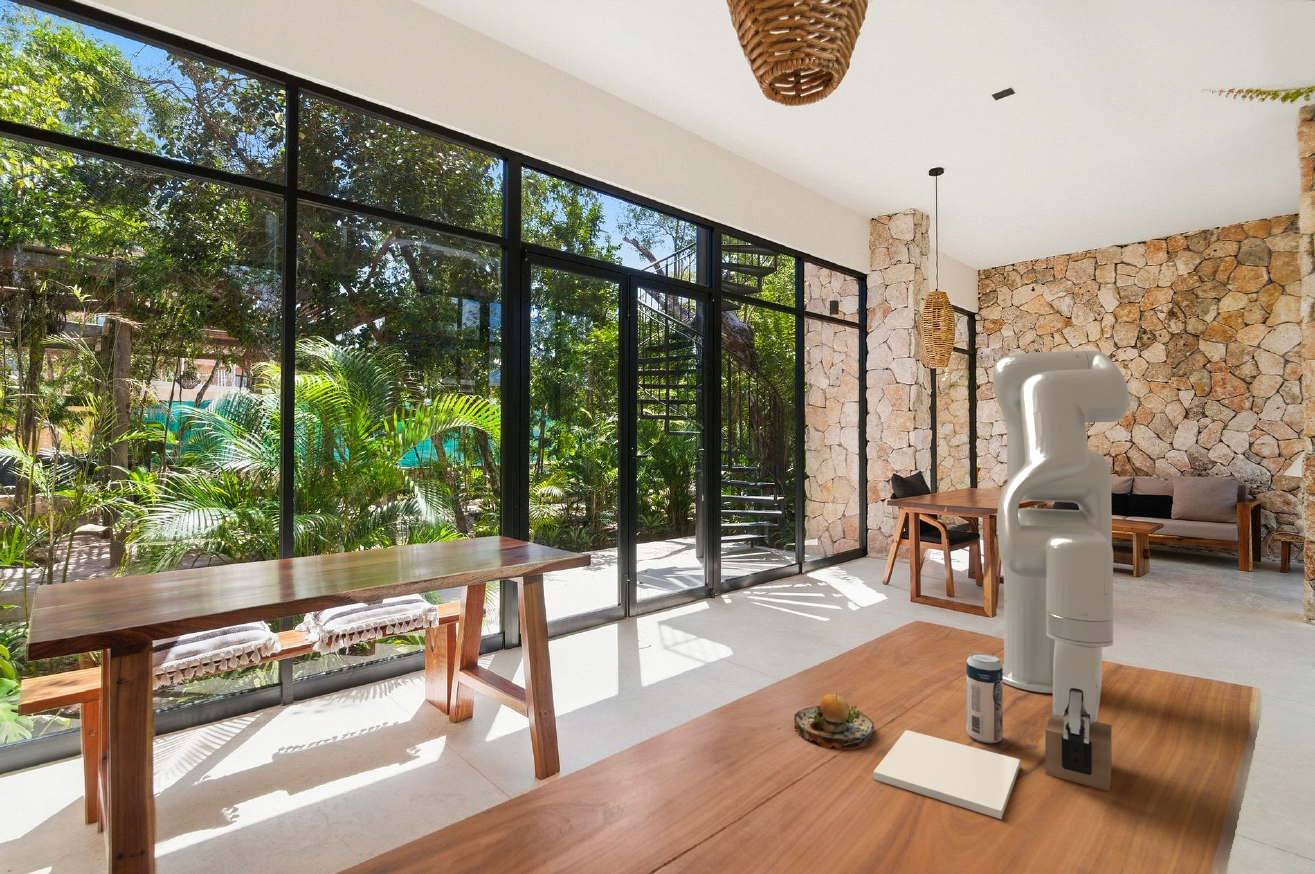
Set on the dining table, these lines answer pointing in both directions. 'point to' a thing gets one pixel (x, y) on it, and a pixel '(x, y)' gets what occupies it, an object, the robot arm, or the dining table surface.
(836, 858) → the dining table surface
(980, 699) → the beer can
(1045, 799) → the dining table surface
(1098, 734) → the walnut block
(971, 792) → the stone tile
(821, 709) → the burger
